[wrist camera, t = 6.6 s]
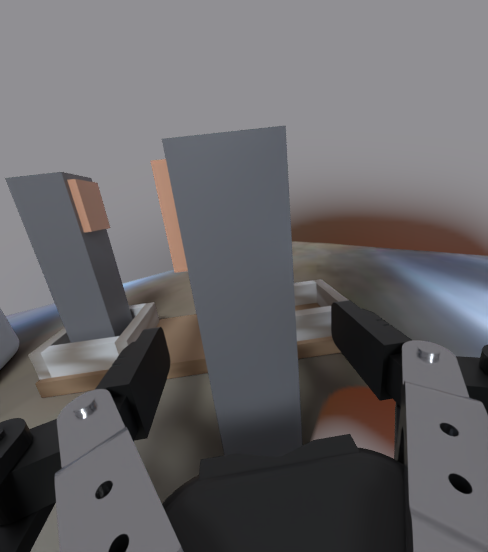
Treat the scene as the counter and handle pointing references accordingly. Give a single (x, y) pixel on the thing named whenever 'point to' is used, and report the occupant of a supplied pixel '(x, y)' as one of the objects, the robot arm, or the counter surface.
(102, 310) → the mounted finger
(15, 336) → the grey bottle
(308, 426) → the counter surface
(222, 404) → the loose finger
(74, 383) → the wooden base with sockets
